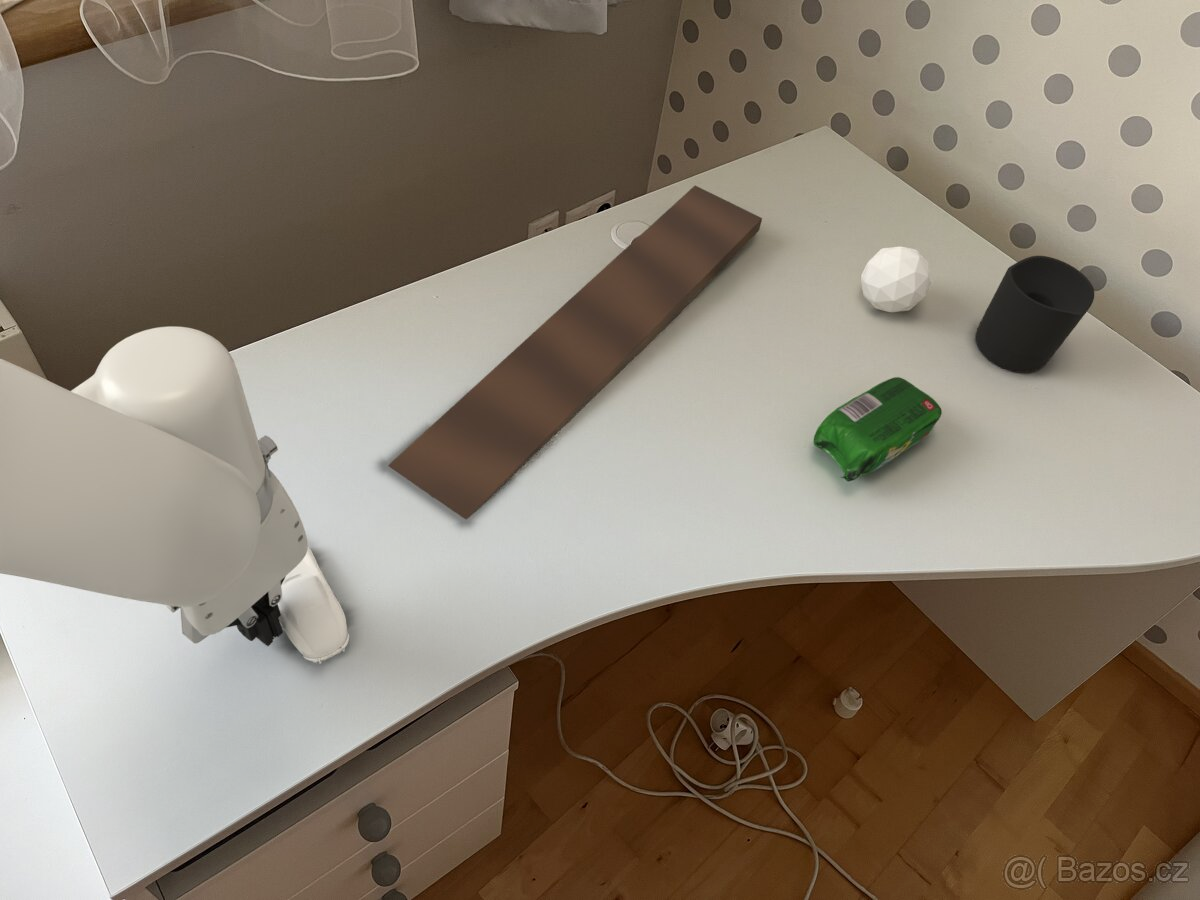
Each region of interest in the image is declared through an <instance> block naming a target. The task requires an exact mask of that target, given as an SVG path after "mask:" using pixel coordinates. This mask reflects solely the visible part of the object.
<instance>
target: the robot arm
mask: <svg viewBox="0 0 1200 900" xmlns="http://www.w3.org/2000/svg"><path fill="white" fill-rule="evenodd" d="M278 450H279V448H278V446H277V443H276V442H275V441H274V440H273V439H272V438H271V437H270V436H268V435H264V436H262V437H261V438H258V435H257V432H256V429H255V425H254V421H253V418H252V415H251V411H250V408H249V404H248V401H247V398H246V394H245V390H244V388H243V383H242V380H241V376H240V374H239V371H238V368H237V365H236V363H235V360H234V358H233V357H232V355H231V353H230V351H229V350H228V349H227V348H226V346H224V345H223V344H222V343H221V341H219V340H218V339H216V338H215V337H214V336H212V335H210V334H208V333H205V332H204V331H202V330H199V329H195V328H191V327H186V326H178V325H177V326H176V325H175V326H172V325H171V326H169V325H168V326H159V327H154V328H149V329H145V330H142V331H138V332H136V333H134V334H132V335H130V336H127V337H125V338H124V339H122V340H121V341H119V342H117V343H116V344H115V345H114V346H112V347H111V348H110V349H109V350H108V351H107V352H106V354H104V356H103V357H102V359H101V361H100V362H99V364H98V366H97V368H96V370H95V372H94V374H93V375H92V376H90V377H88V378H87V379H85V380H84V381H83V382H82V383H80V384H79V385H77V386H76V387H74V388H72V389H71V390H69V389H67V388H65V387H63V386H60V385H58V384H56V383H54V382H52V381H50V380H48V379H46V378H44V377H42V376H40V375H38V374H36V373H33V372H31V371H30V370H27V369H25V368H23V367H21V366H19V365H16V364H14V363H12V362H10V361H8V360H5V359H3V358H0V574H2V575H7V576H13V577H19V578H26V579H28V580H29V579H30V580H34V581H39V582H44V583H49V584H55V585H60V586H64V587H69V588H73V589H77V590H83V591H87V592H92V593H95V594H96V593H97V594H101V595H106V596H112V597H117V598H122V599H127V600H131V601H138V602H145V603H149V604H150V603H151V604H157V605H163V606H164V605H165V606H166V608H167V609H168V610H169V611H170V612H171V613H175V612H177V611H178V610H179V609H180V622H181V634H182V635H183V636H184V637H185V638H187V639H188V640H190V642H192V643H193V644H196V645H197V644H199V643H200V642H202V641H203V640H205V639H207V638H208V637H209V636H212V635H215V634H217V633H220V632H222V631H223V630H225V629H226V628H231V627H236V628H237V630H238V631H239V633H240V634H241V635H242V636H243V637H244V638H246V639H247V640H248V641H250V642H253V641H254V640H255V639H257V640H259V641H260V642H261V643H262V644H264V645H265V646H266V647H270V645H271V644H273V643H274V639H275V638H276V637H277V638H279V637H280V636H281V635H282V634H283V633H284V629H283V627H282V625H281V623H280V621H279V618H278V617H280V616H281V613H280V610H279V607H278V603H281V602H280V600H281V598H282V589H281V585H282V583H283V581H284V579H285V577H286V575H288V574H289V573H290V572H291V571H292V570H293V569H294V568H295V567H296V566H297V565H298V564H299V563H300V562H301V561H302V560H303V558H304V557H305V555H306V553H307V548H308V546H309V545H308V537H307V533H306V530H305V527H304V523H303V521H302V519H301V516H300V514H299V512H298V510H297V508H296V505H295V504H294V502H293V500H292V499H291V497H290V495H289V494H288V492H287V490H286V489H285V487H284V486H283V484H282V483H281V481H280V480H279V478H278V476H276V475H275V473H274V472H273V471H272V470H270V468H269V465H268V463H269V462H270V460H271V458H272V455H274V454H275V453H276V452H278Z"/></svg>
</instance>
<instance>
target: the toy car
mask: <svg viewBox="0 0 1200 900" xmlns="http://www.w3.org/2000/svg"><path fill="white" fill-rule="evenodd" d="M281 589H282V598H281V600H280V602H279V603H278V607H279V610H280V613H281V616H280V617H278V618H279V621H280V624H281V627H282V629H283V631H284V632H285V634H286V636H287V637H288V639H289V640H290V642H291V644H293V646H294V647H295V648H296V649H297V651H298V652H299V653H300V654H301V655H302V657H303V658H304V659H305V660H307V661H308V662H309V661H310V662H313V663H314V664H316V665H317V664H322V663H323V662H322V661H327V660H328V659H330V658H332V657H334V656H336V655H338V654H341V652H343V653H344V652H346V650H345V648H346V647H347V646H348V644H349V642H350V633H348V625H347V618H346V614H345V613H344V610H343V608H342V606H341V604H340V602H339V601H338V599H337V598H336V595H335V594H334V592H333V590H332V587H330V585H329V583H328V581H327V579H326V577H325V575H324V574H323V571H322V570H321V568H320V566H319V564H318V561H317V559H316V557H315V554H313V551H312V550H311V548H310V546H309V545H308V548H307V553H306V555H305V557H304V558H303V560H302V561H301V562H300V563H299V564H298V565H297V566H296V567H295V568H294V569H293V570H292V571H291V572H290V573H289V574H288V575H286V577H285V579H284V581H283V583H282V585H281Z"/></svg>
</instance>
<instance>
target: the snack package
mask: <svg viewBox="0 0 1200 900" xmlns="http://www.w3.org/2000/svg"><path fill="white" fill-rule="evenodd" d="M942 411H943V410H942V408H941V406H940V405H939V404H938V402H937V401H936V400H935V399H934V398H933V397H932V396H930V395H929V394H927V393H926V392H924V391H923V390H921V389H920V388H918V387H917V386H916V385H914V384H912V383H911V382H910V381H908V380H907V379H905V378H903V377H899V376H896V377H891V378H889V379H887V380H886V379H885V380H884V381H882V382H880V383H878V384H877V385H875V386H873V387H871V388H870V389H868V390H866V391H865V392H862V393H860V394H859V395H857V396H855V397H853V398H851V399H850V400H849V401H847V402H845V403H844V404H842V405H840V406H838V407H836V409H834V410H833V411H832V412H831V413H829V414H828V415H827V416H826V417H825V419H824V420H823V421H822V422H820V423H821V424H819V426H818V427H817V429H816V430H815V433H814V435H813V445H814V446H815V447H816V448H818V449H819V450H822V451H823V452H825V453H827V454H828V455H829V456H830V457H831V458H832V459H833V460H834V461H835V463H836V464H837V465H838V467H840V468H841V470H842V471H843V476H840V478H842V479H844V480H845V481H846V482H851V481H854V480H856V479H858V478H859V477H860V476H862V475H863V476H864V475H868V474H871V473H874V472H875V471H876V470H879V469H881V468H882V467H883V466H886V464H889V462H891V461H892V460H894V459H895V458H896V457H898V456H899V455H901V454H903V452H905V451H906V450H908V449H910V448H911V447H913V446H914V445H916V444H917V443H919V442H920V441H922V440H923V439H924V438H926V437H927V436H928V435H929V434H930V433H931V431H932V430H933V428H934V427H935V425H936V424H937V423H938V422H939V420H940V418H941V417H942V414H943V412H942Z"/></svg>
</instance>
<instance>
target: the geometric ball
mask: <svg viewBox="0 0 1200 900" xmlns="http://www.w3.org/2000/svg"><path fill="white" fill-rule="evenodd" d="M860 281H861V288H862V296H864V297H865V298H866V299H867V301H868V302H869V304H871V305H872V307H873V308H874V309H877V310H880V311H883V312H887V313H897V312H898V313H899V312H907V311H911V309H913V308H914V307H915V306H916V305H917V304H919V303H920V302H921V301H922V300H923V299H924V298H925V297H926V295H927V293H928V290H929V288H930V286H931V284H932V279H931V269H930V263H929V262H928V261H927V260H926V258H924V257H923V256H922V254H921V253H920V252H919V251H918V250H917V249H915V248H910V247H906V246H902V245H901V246H891V247H884V248H883V247H882V248H881V249H880V250H878V251H877V253H875V254H874V255H873V256H872V257H871V258H870V259H869V260H868V261H867V263H866V265H865V267H864V268H863V271H862V273H861V274H860Z"/></svg>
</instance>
